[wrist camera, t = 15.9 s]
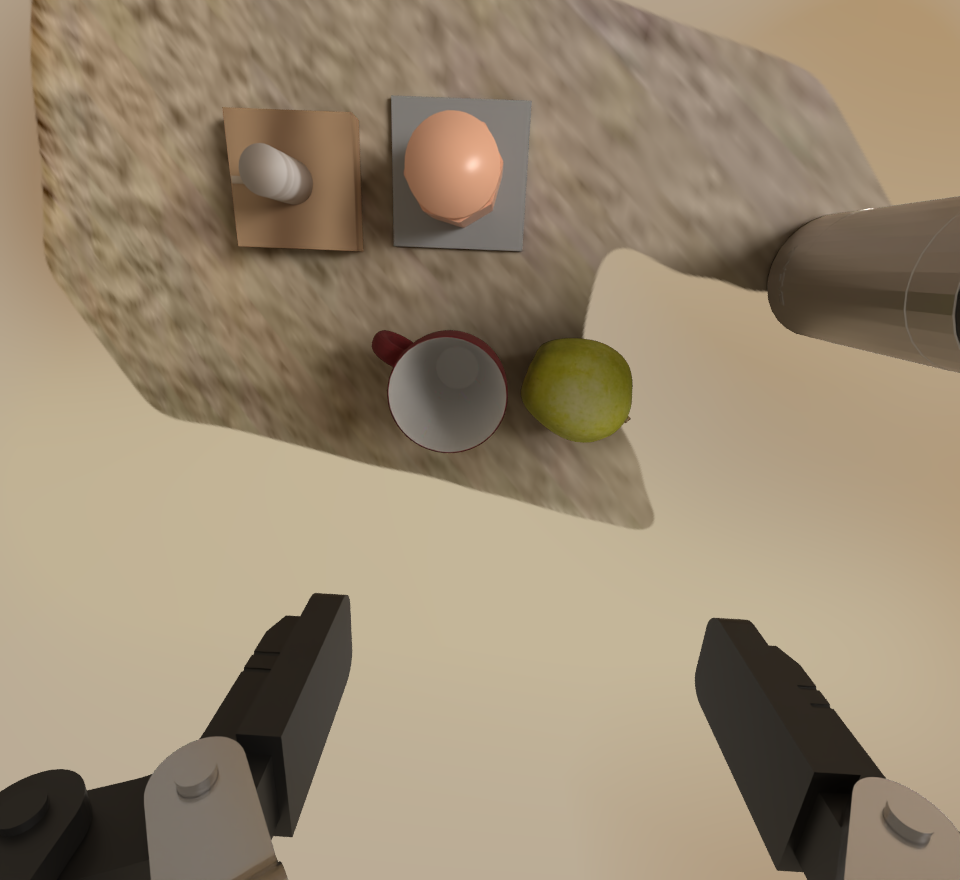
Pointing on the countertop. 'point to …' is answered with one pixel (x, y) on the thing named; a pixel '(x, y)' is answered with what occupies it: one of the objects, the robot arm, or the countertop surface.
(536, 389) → the apple
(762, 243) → the countertop surface
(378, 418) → the countertop surface
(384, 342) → the mug
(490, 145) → the cap
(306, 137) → the post block
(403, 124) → the mat
